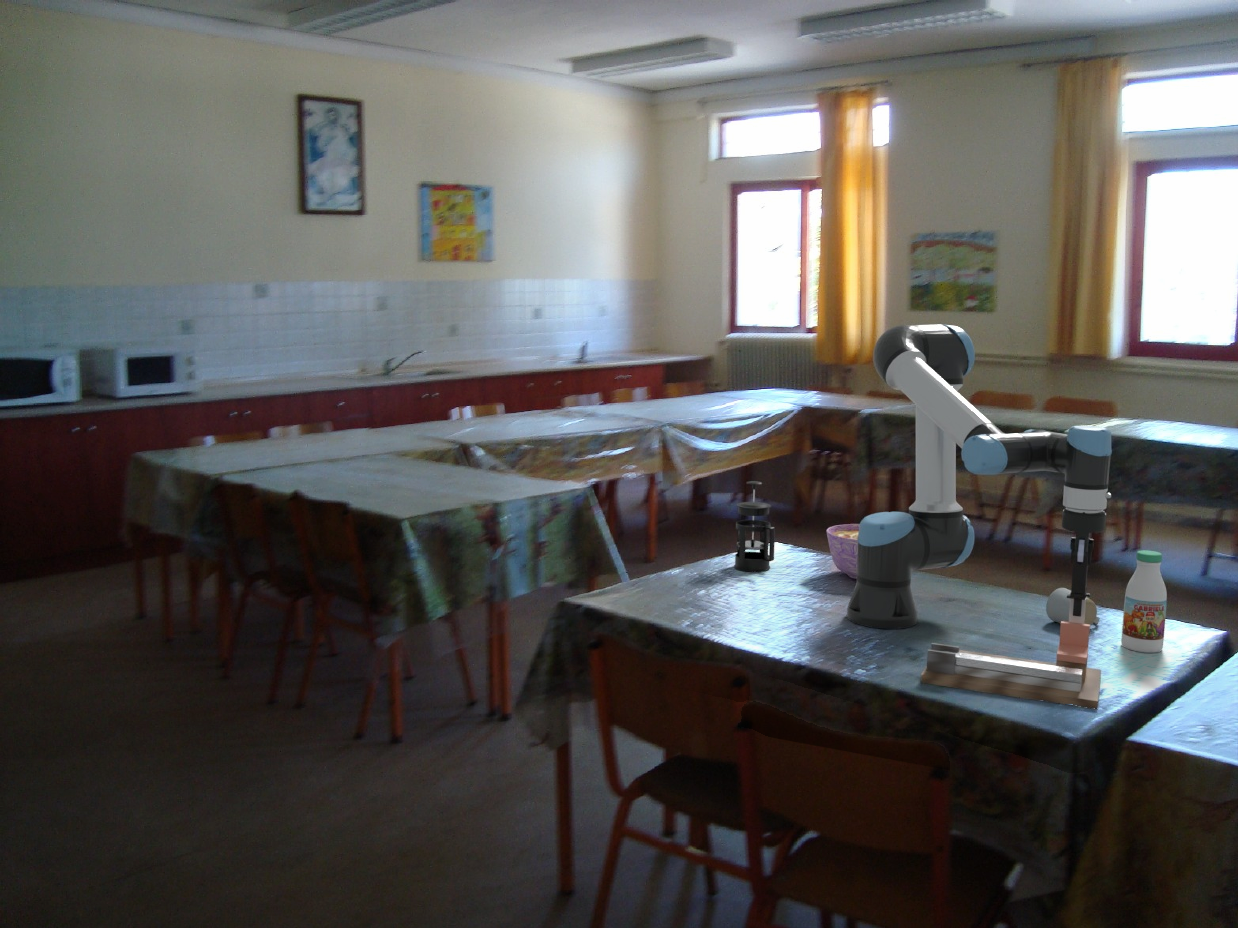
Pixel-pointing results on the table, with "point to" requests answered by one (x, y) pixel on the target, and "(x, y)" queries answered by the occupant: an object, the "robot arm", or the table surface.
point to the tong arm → (1018, 667)
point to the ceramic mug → (1068, 607)
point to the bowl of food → (844, 547)
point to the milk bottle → (1145, 605)
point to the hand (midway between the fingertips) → (1075, 630)
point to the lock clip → (1073, 642)
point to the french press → (753, 559)
